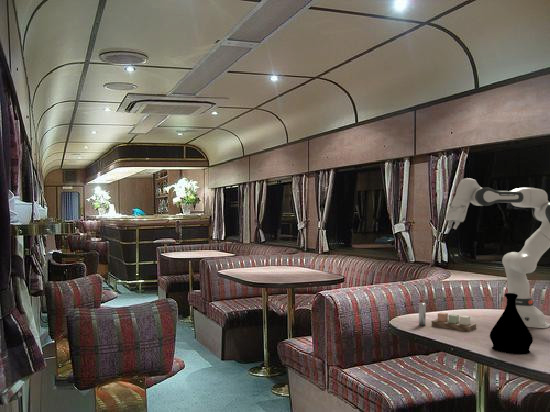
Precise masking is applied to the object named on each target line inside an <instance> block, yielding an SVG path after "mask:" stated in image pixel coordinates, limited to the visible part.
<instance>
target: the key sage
mask: <svg viewBox="0 0 550 412" xmlns="http://www.w3.org/2000/svg"><path fill="white" fill-rule="evenodd" d="M448 320H449V323H455V324H456V323H459V321H460V315H459V314H455V313H453V314H452V313H450V314H448Z"/></svg>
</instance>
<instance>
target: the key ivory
mask: <svg viewBox="0 0 550 412" xmlns="http://www.w3.org/2000/svg"><path fill="white" fill-rule="evenodd" d="M459 321H460V324H462V325H469V324H470V323H471V315H470V316H468V315H459Z"/></svg>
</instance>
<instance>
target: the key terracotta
mask: <svg viewBox="0 0 550 412" xmlns="http://www.w3.org/2000/svg"><path fill="white" fill-rule="evenodd" d="M437 319H438V321H442V322H446V321H448V320H449V313H447V312H438V313H437Z"/></svg>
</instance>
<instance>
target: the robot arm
mask: <svg viewBox="0 0 550 412" xmlns="http://www.w3.org/2000/svg"><path fill="white" fill-rule="evenodd" d="M548 196H549V195H548V193H547V192H546V191H545V190H544V189H541V188H535V187H519V188H517V187H516V188H514V189H512V190H509V191H508V190H496V189H493V188H491V187H488V186H487V187H486V186H485V187H481V186H480V185H479V183H478V182H477V180H476V179H473V178H470V177H469V178H468V177H466V178H463V179H461V180H460V182H459V183H458V186H457V188H456V192H455V195H454V196H453V199H452V201H451V202H450V203H449V205H448V210H447V213H446V219H445V220H446V221H448V222H447V226H446V229H449V230H451V229H452V230H453V229H454V230H457V229H458V227H459V225H460V224H461V223H464V221H465V220H466V216H467V213H468V208H469V206H470V204H472V205H473V206H478V207H479V206H480V207H483V206H485V207H487V206H492V205H494V204H497V203H504V204H505V203H509V204H511V205H512V206H514V207H518V208H531V214H532V217H533V218H534V219H535V220H536V221H538V222H541V225H540V226H539V228H538V229H536V231H534V232H533V233H532V234H531V235H530V237H528V238H527V239H526V240H525V242H524V246H523V247H522V248H521V250H520V251H519V252H516V251H511V252H507V253H506V254H504V255H503V257H502V260H501V262H502V266H503V267H504V270H505V271H504V272H505V275H506V279H507V280H506V281H507V293H515V294H517V295H518V297H517V298H516V299H515V304H516V308H517V311H518V313H519V315H520V316H521V318H522V320H523V321H524V323H525V325H526V326H527V328H528V327H529V328H534V329H536V328H538V329H547V328H549V327H550V322H546V318H545V317H546V316H545V314H544V312H543V311H541V310H540V309H539V308H537V307H536V306H534V302H535V300H534V299H532V298H531V297H530V295H531V294H530V292H531V291H530V290H531V287H530V286H531V285H530V282H529V280H528V277H527V274H531V273H533V272H535V270H536V269H537V266H538V265H537V264H538V262H539V260H540V259H541V258H542V256H543V255H544V254H545V253H546V252H547V251H548V250H549V249H550V201H549V200H548V199H549V197H548ZM453 223H454V224H453Z"/></svg>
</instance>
